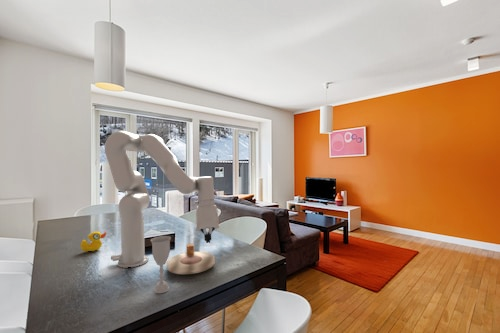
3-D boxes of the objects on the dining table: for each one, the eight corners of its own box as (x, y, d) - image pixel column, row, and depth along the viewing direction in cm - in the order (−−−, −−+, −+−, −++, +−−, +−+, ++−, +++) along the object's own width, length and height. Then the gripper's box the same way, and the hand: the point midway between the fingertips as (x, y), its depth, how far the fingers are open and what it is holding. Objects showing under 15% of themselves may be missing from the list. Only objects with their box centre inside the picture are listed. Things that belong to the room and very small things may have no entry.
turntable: (165, 277, 90) (165, 262, 90) (167, 258, 109) (167, 246, 109) (218, 270, 96) (218, 256, 96) (211, 252, 115) (211, 241, 115)
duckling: (106, 247, 132) (105, 229, 132) (107, 249, 127) (106, 231, 127) (80, 251, 125) (80, 232, 125) (81, 254, 121) (80, 235, 121)
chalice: (156, 284, 89) (155, 235, 89) (174, 284, 89) (174, 235, 89) (147, 294, 82) (146, 242, 81) (167, 294, 81) (166, 242, 81)
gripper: (190, 205, 106) (192, 246, 106) (223, 202, 111) (225, 242, 111) (189, 203, 113) (191, 241, 114) (220, 200, 118) (222, 237, 118)
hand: (208, 241), depth 112 cm, fingers closed
